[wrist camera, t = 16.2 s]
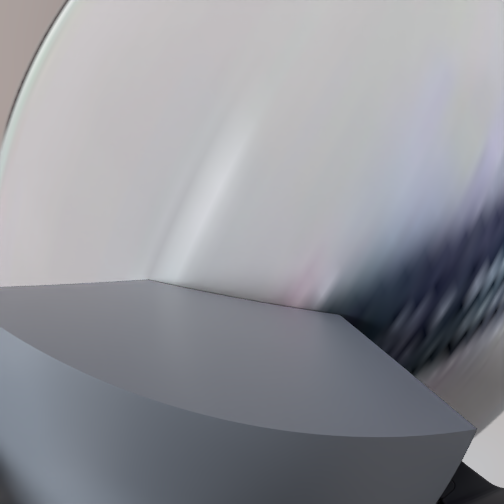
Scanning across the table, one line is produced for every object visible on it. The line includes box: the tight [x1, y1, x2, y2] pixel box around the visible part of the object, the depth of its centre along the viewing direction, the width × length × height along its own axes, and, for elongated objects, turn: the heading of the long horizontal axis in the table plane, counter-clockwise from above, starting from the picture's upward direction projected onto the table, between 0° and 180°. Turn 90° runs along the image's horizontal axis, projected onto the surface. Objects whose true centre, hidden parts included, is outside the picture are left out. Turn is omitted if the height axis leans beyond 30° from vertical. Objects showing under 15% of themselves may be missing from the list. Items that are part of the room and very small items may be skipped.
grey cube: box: [0, 280, 477, 504], centre depth 7 cm, size 8×8×9 cm
